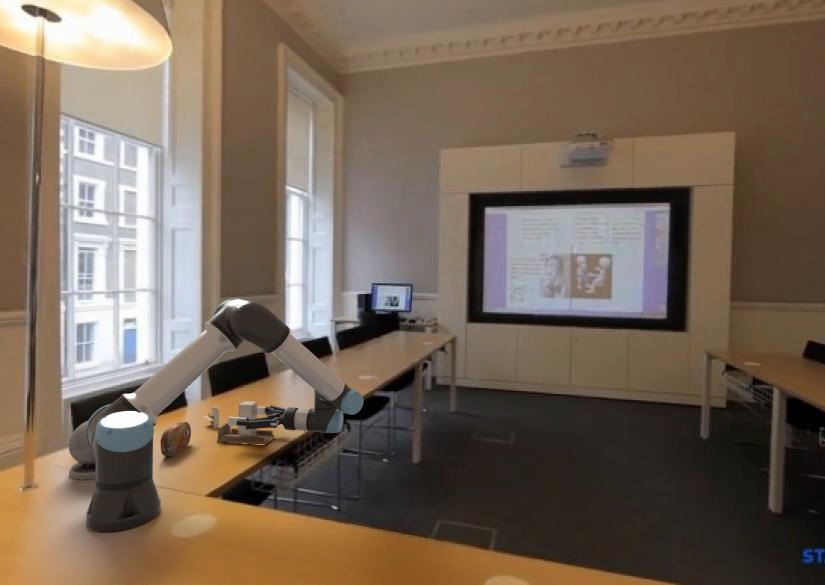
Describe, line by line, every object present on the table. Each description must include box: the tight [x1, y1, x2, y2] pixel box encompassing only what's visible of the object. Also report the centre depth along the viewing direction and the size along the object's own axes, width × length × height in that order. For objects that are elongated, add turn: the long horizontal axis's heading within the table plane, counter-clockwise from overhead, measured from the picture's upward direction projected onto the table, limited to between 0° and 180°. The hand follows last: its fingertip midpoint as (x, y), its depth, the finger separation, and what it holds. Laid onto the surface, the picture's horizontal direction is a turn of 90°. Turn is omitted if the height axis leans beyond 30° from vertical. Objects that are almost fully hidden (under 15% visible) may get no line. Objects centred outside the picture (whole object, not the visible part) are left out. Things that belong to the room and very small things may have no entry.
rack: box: [216, 420, 275, 445], centre depth 167 cm, size 8×17×5 cm, turn 83°
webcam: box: [68, 420, 96, 480], centre depth 138 cm, size 13×13×15 cm
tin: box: [159, 421, 192, 457], centre depth 155 cm, size 15×3×8 cm, turn 179°
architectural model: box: [202, 405, 220, 428], centre depth 181 cm, size 3×7×7 cm, turn 45°
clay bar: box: [237, 400, 258, 437], centre depth 167 cm, size 4×4×12 cm
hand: (238, 415), depth 167 cm, fingers open, 13 cm apart
